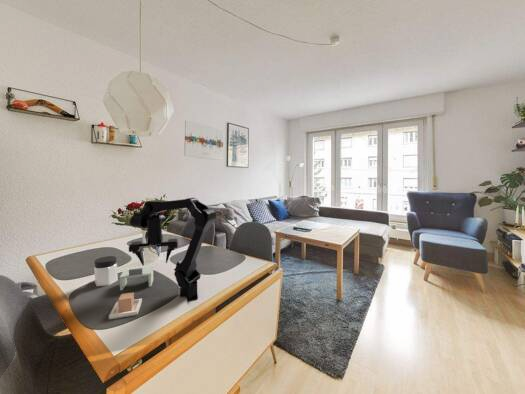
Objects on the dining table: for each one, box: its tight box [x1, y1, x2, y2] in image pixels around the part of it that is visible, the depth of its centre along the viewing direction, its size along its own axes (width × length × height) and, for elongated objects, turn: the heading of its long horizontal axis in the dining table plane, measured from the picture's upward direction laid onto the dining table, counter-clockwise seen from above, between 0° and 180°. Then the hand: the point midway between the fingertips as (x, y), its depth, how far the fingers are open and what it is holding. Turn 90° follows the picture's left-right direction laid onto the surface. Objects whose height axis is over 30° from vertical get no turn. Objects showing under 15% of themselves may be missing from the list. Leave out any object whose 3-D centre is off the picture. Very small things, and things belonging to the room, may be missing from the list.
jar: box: [93, 255, 119, 287], centre depth 99 cm, size 9×8×12 cm
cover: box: [119, 266, 154, 291], centre depth 97 cm, size 12×7×8 cm, turn 110°
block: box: [117, 292, 135, 313], centre depth 79 cm, size 4×4×5 cm
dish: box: [108, 298, 143, 320], centre depth 79 cm, size 9×9×1 cm
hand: (155, 263), depth 95 cm, fingers open, 9 cm apart
